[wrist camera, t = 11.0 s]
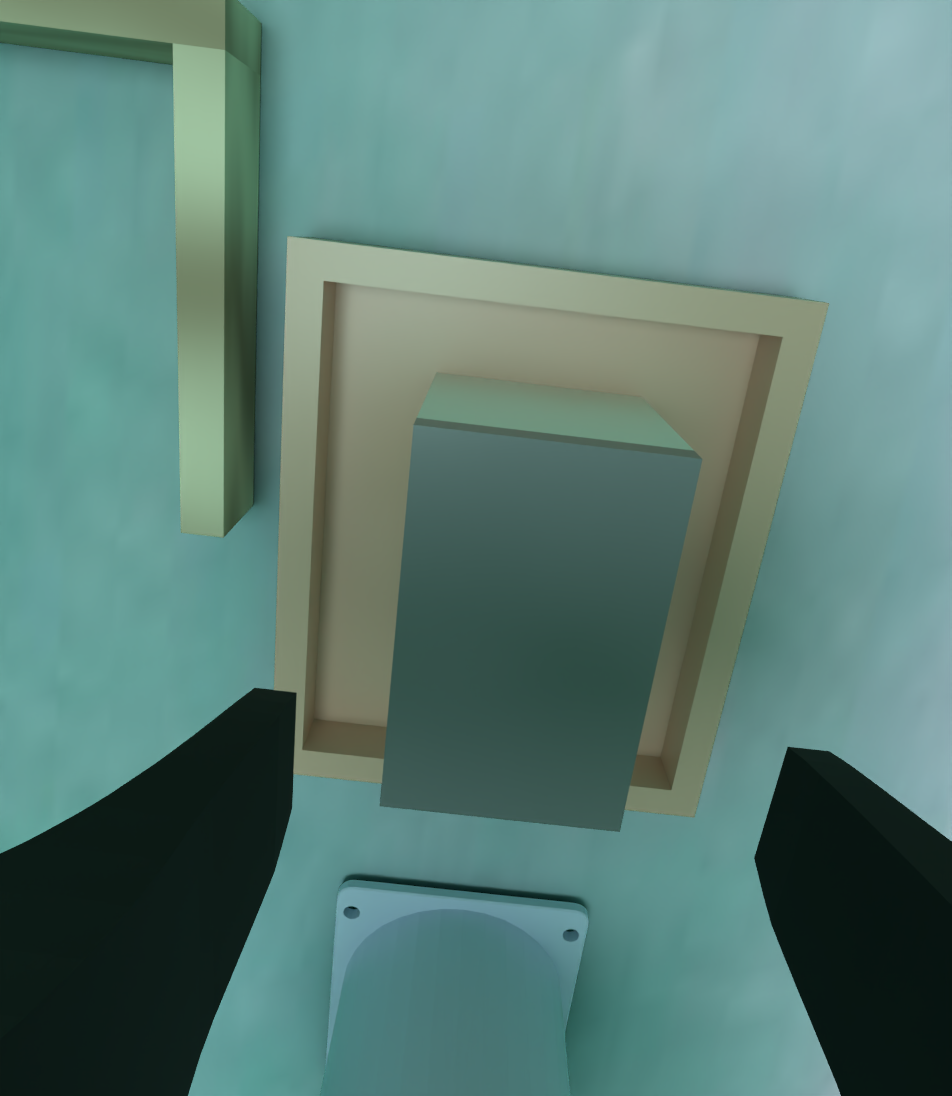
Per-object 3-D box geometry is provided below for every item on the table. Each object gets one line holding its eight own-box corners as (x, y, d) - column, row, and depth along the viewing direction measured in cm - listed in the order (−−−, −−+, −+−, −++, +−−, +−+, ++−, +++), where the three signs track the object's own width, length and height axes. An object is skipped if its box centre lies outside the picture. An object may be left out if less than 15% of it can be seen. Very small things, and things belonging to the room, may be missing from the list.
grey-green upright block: (587, 683, 22) (619, 832, 17) (408, 663, 22) (379, 805, 16) (641, 396, 19) (702, 459, 14) (436, 372, 19) (413, 425, 14)
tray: (677, 770, 24) (694, 817, 22) (290, 727, 24) (271, 771, 22) (794, 297, 19) (829, 302, 17) (308, 236, 19) (287, 236, 17)
